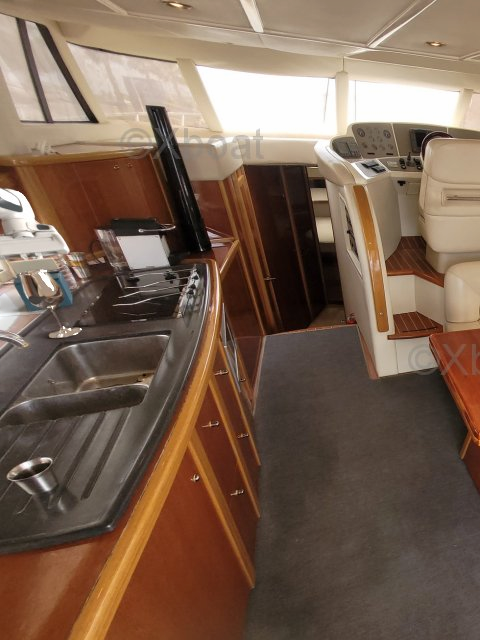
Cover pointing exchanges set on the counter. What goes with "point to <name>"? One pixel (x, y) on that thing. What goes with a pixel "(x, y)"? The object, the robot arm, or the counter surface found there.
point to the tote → (59, 280)
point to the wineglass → (46, 297)
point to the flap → (34, 265)
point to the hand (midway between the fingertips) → (35, 266)
